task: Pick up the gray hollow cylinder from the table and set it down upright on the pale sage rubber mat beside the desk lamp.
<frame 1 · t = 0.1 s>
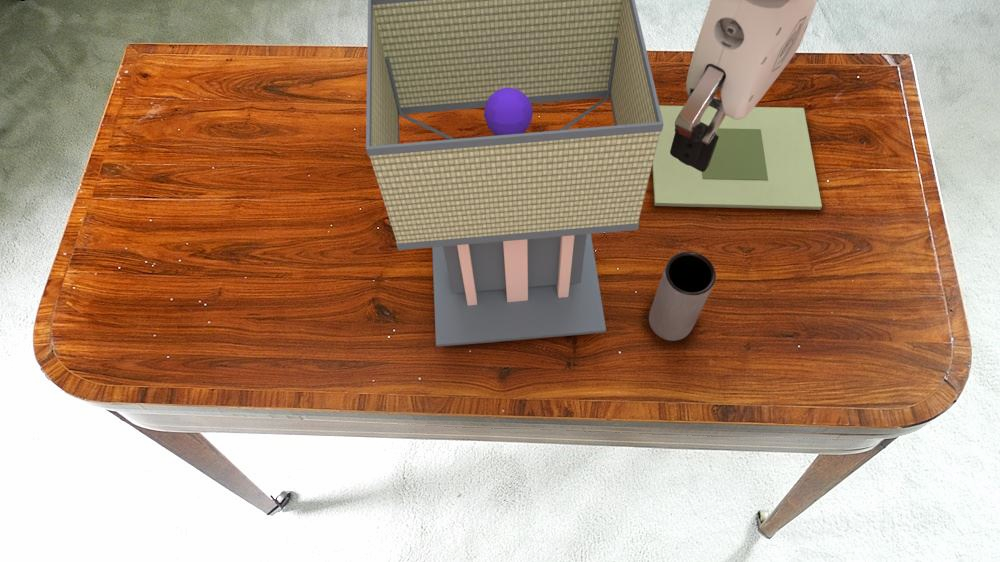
hand: (718, 122, 60), 21 cm above the table, tool pointing down, fingers open, 9 cm apart
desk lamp: (515, 286, 77), on the table
mat: (730, 157, 83), on the table
gray hollow cylinder: (670, 321, 74), on the table
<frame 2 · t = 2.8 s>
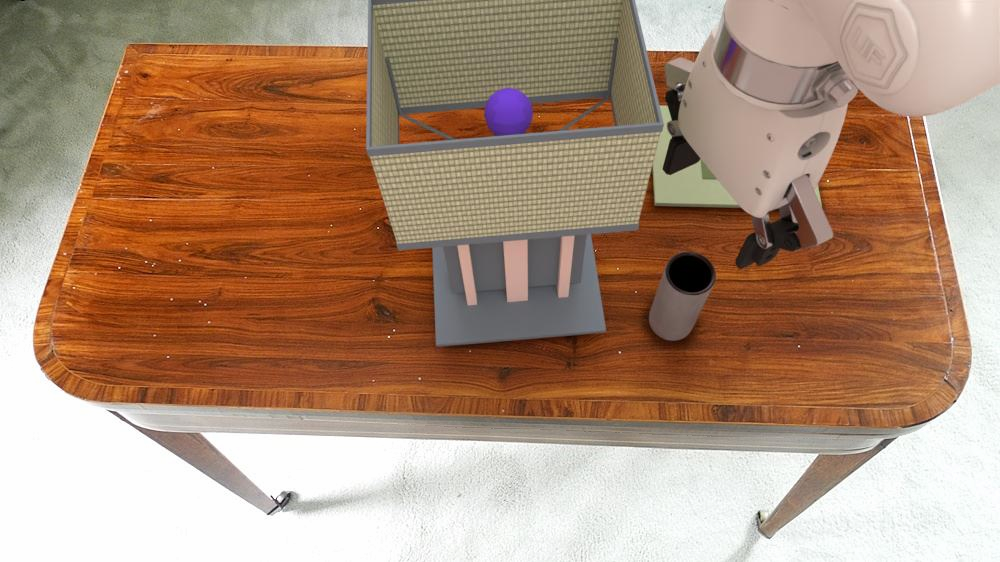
hand: (715, 210, 56), 20 cm above the table, tool pointing down, fingers open, 9 cm apart
nothing on the table moved.
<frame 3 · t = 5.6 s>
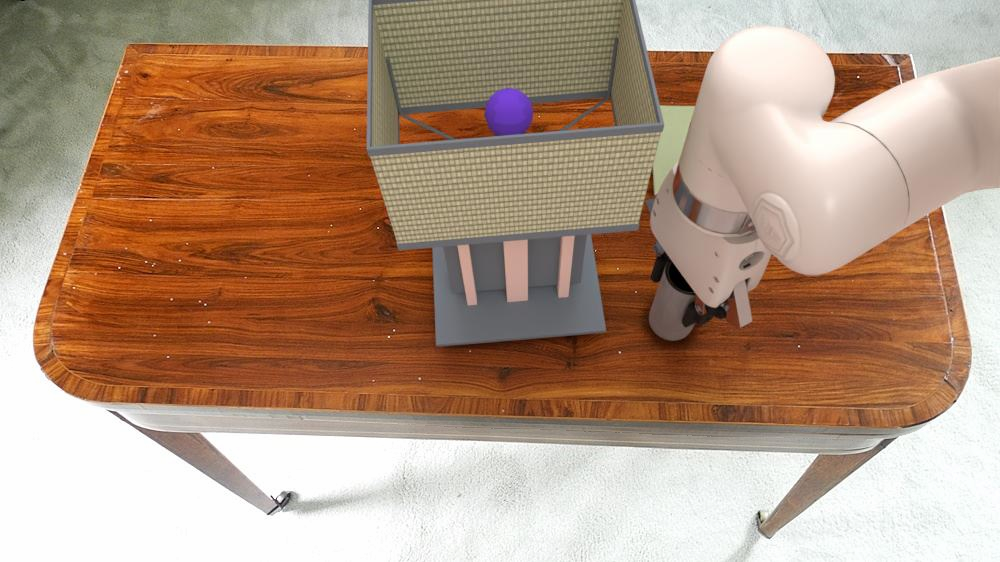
hand: (681, 295, 69), 6 cm above the table, tool pointing down, fingers closed on gray hollow cylinder, 4 cm apart
gray hollow cylinder: (670, 321, 74), on the table, touching gripper
everything else where it was.
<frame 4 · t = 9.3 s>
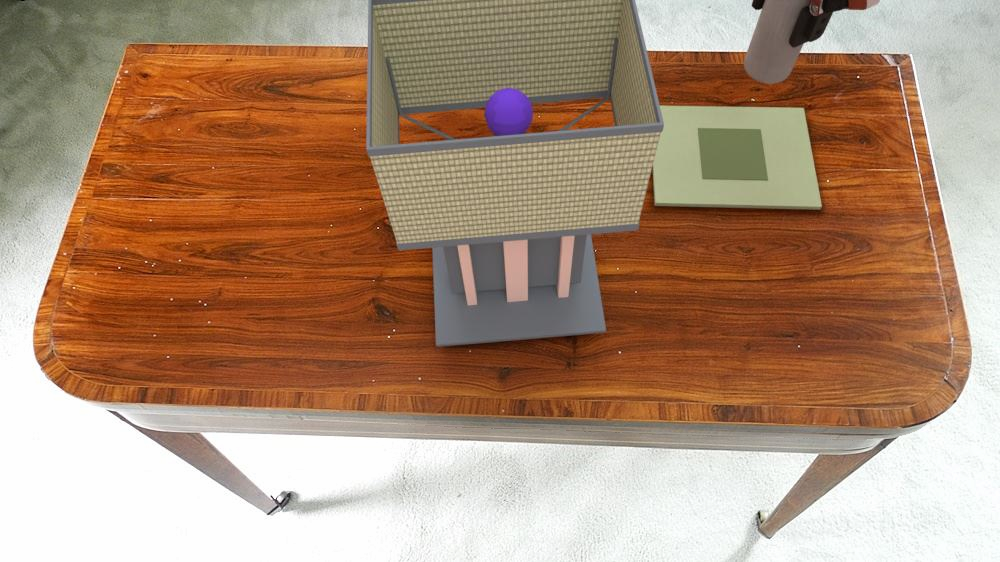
hand: (785, 19, 65), 20 cm above the table, tool pointing down, fingers closed on gray hollow cylinder, 4 cm apart
gray hollow cylinder: (766, 68, 70), point 14 cm above the table, touching gripper
everything else where it was.
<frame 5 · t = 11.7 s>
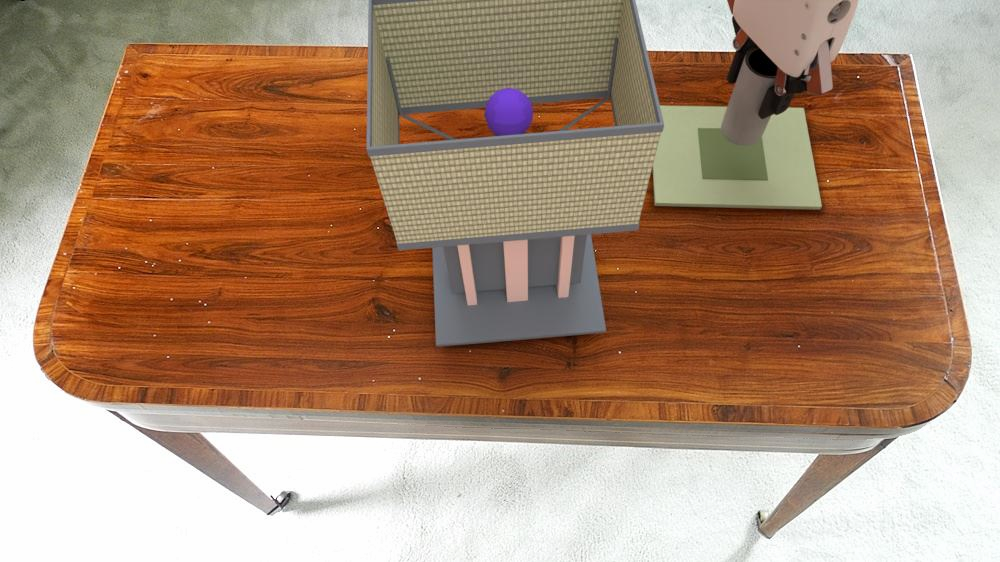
hand: (756, 93, 74), 11 cm above the table, tool pointing down, fingers closed on gray hollow cylinder, 4 cm apart
gray hollow cylinder: (741, 131, 79), point 5 cm above the table, touching gripper
everything else where it was.
when the fingers open (6 cm above the table, at t = 13.1 s): gray hollow cylinder stays where it is, resting on mat.
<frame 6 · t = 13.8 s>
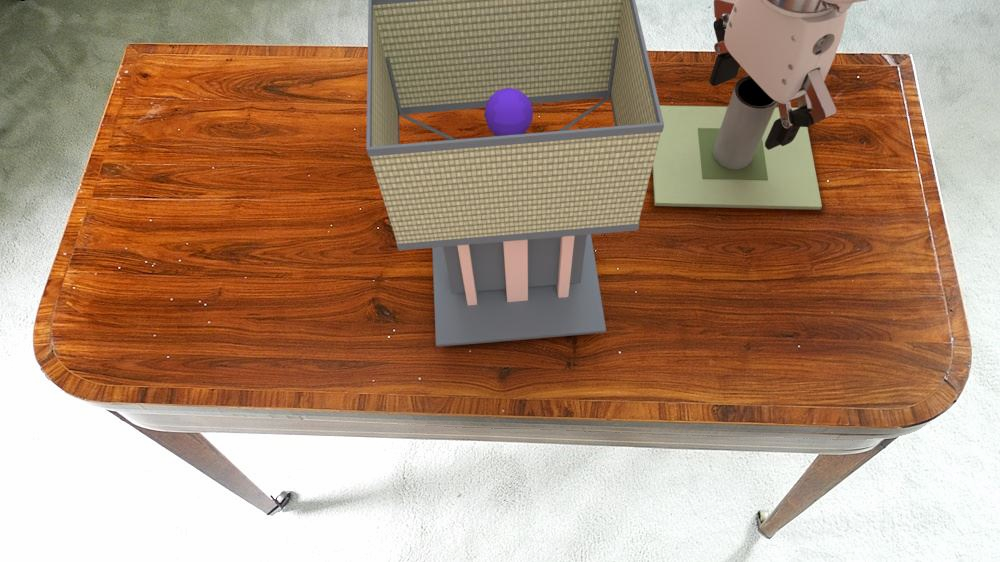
hand: (749, 110, 76), 8 cm above the table, tool pointing down, fingers open, 9 cm apart
gray hollow cylinder: (732, 155, 83), resting on mat
everything else where it was.
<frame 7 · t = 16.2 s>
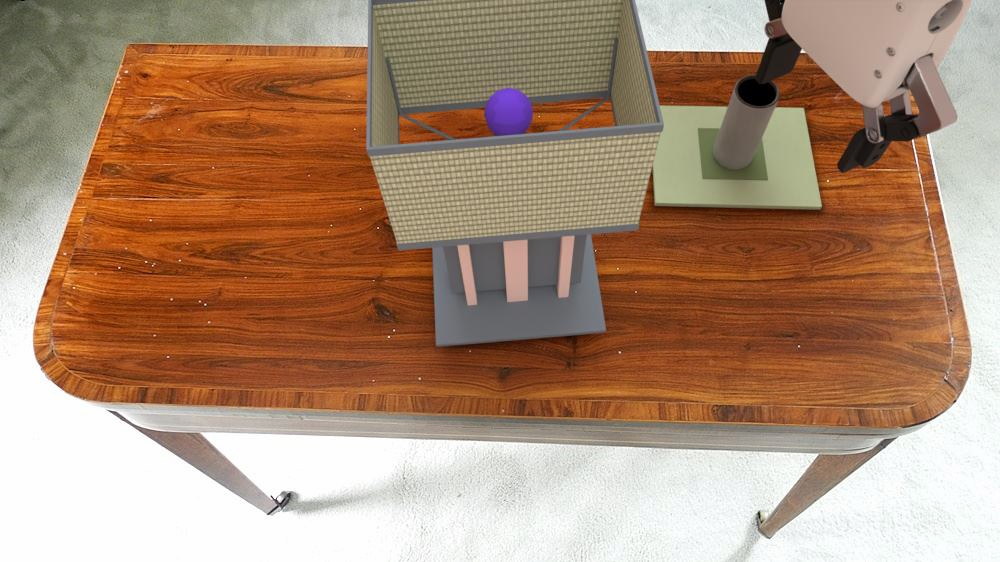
hand: (812, 117, 55), 25 cm above the table, tool pointing down, fingers open, 9 cm apart
nothing on the table moved.
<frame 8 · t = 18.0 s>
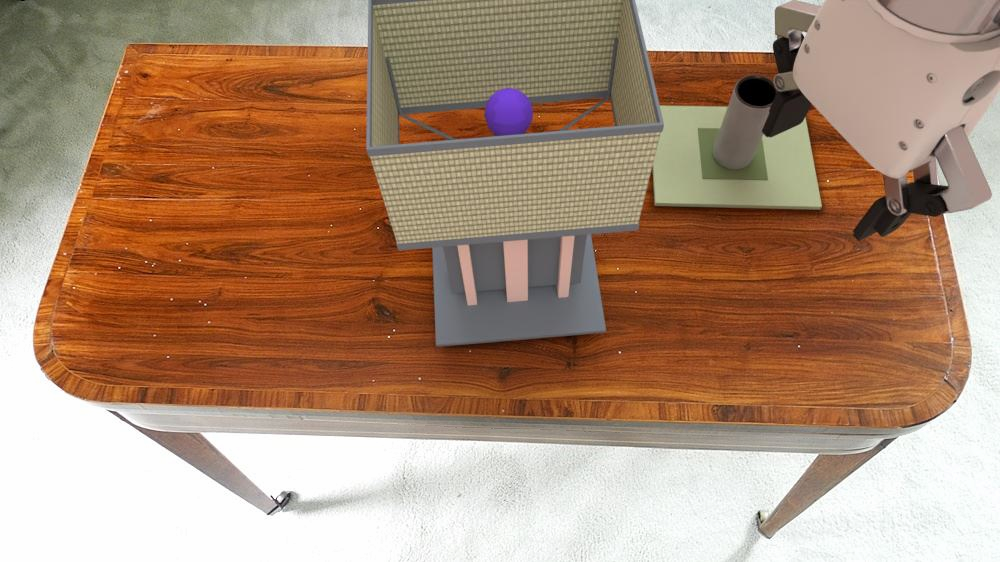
hand: (825, 176, 50), 26 cm above the table, tool pointing down, fingers open, 9 cm apart
nothing on the table moved.
at the end: gray hollow cylinder inside the target area on the mat (0.1 cm from its centre), point 0.5 cm above the mat's base; gray hollow cylinder tilted 0°; gray hollow cylinder 29.6 cm from the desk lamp (horizontally) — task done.
